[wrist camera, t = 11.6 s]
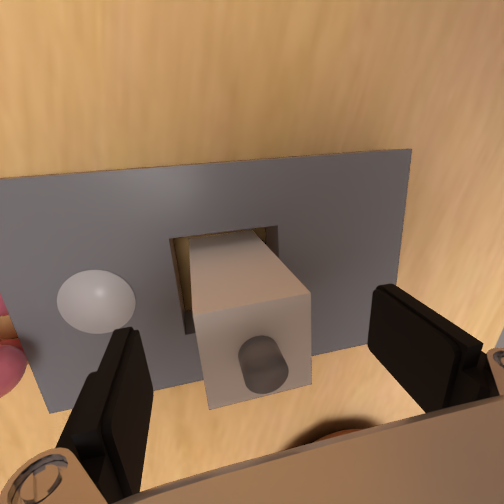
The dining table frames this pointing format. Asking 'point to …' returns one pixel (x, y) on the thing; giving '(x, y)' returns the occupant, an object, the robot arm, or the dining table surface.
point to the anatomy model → (10, 359)
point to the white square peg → (248, 319)
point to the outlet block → (164, 258)
